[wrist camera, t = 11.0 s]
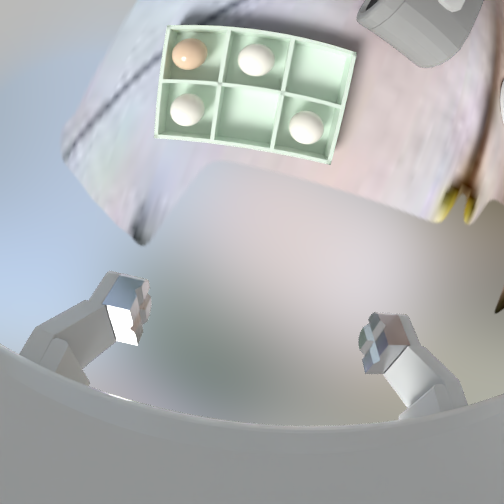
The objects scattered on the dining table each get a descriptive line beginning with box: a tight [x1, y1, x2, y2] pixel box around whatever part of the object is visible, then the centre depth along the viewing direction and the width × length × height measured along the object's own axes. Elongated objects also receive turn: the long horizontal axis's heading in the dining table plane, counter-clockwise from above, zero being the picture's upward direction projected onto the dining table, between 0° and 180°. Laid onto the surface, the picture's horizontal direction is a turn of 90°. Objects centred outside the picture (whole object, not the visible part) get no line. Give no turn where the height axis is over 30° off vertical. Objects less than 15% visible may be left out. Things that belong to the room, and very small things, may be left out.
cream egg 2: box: [238, 44, 275, 76], centre depth 27 cm, size 4×4×4 cm
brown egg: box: [172, 38, 208, 70], centre depth 26 cm, size 4×4×4 cm
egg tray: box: [154, 25, 357, 165], centre depth 30 cm, size 23×16×4 cm
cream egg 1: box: [170, 93, 205, 126], centre depth 31 cm, size 4×4×4 cm
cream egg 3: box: [289, 111, 324, 144], centre depth 31 cm, size 4×4×4 cm
